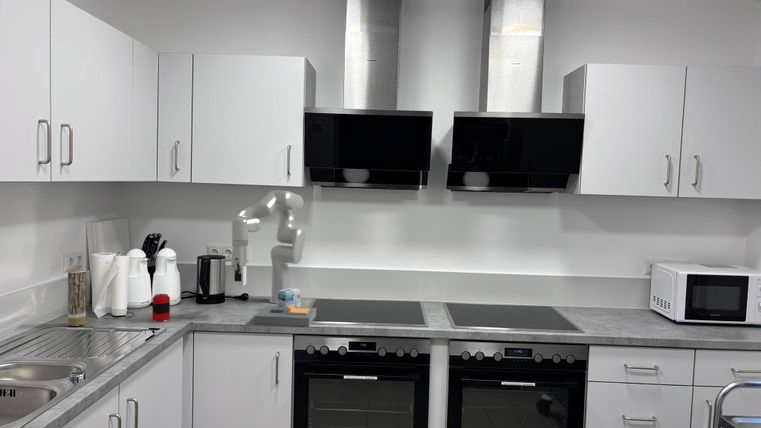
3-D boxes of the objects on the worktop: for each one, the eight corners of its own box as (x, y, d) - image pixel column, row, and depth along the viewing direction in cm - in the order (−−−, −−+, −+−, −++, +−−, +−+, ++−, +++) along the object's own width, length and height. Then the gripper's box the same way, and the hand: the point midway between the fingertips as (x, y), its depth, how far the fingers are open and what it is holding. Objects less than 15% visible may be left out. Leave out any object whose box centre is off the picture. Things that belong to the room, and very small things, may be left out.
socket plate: (265, 313, 263) (265, 305, 263) (316, 315, 262) (316, 307, 261) (254, 324, 243) (254, 315, 243) (308, 326, 242) (309, 318, 241)
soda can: (152, 322, 241) (152, 297, 240) (152, 318, 248) (152, 293, 247) (169, 321, 244) (169, 296, 243) (169, 317, 251) (169, 293, 250)
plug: (236, 283, 257) (236, 261, 257) (246, 283, 257) (246, 261, 256) (233, 285, 252) (233, 263, 252) (243, 285, 252) (243, 263, 251)
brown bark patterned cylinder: (66, 327, 229) (65, 271, 228) (70, 323, 236) (70, 269, 234) (83, 327, 231) (83, 271, 229) (87, 323, 237) (87, 269, 236)
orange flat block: (291, 309, 256) (291, 303, 256) (309, 310, 256) (309, 304, 256) (287, 313, 247) (287, 308, 247) (306, 314, 247) (306, 308, 247)
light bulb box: (286, 312, 266) (286, 292, 265) (277, 310, 270) (277, 290, 269) (301, 309, 275) (301, 289, 274) (292, 307, 279) (292, 287, 278)
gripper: (238, 241, 262) (237, 276, 263) (226, 245, 245) (226, 283, 246) (252, 241, 262) (252, 277, 263) (242, 245, 245) (241, 283, 246)
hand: (239, 279), depth 254 cm, fingers closed on plug, 5 cm apart
